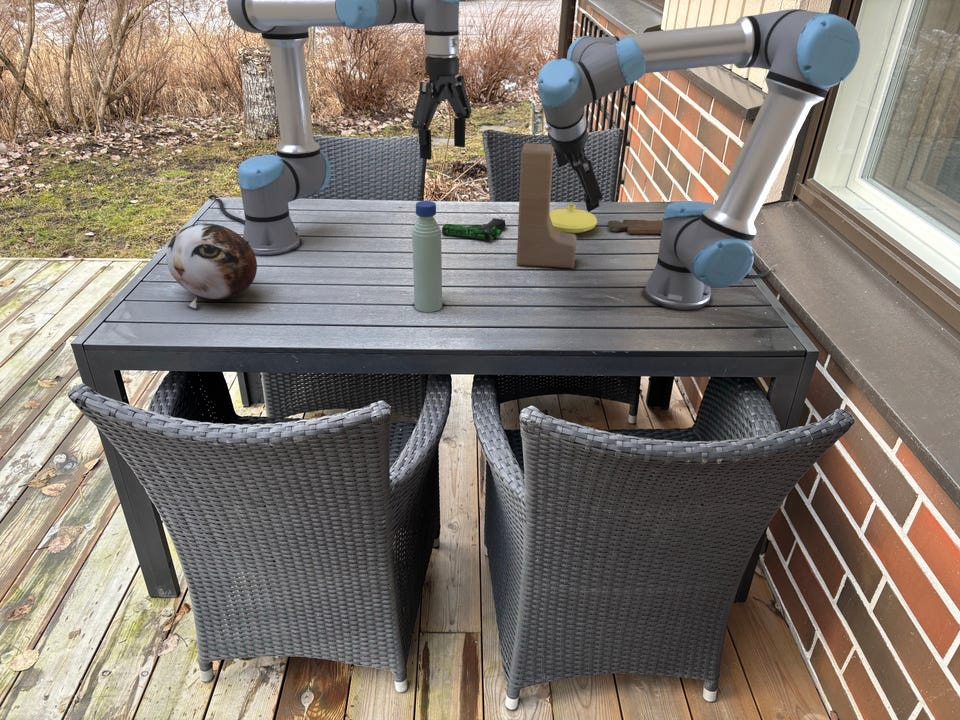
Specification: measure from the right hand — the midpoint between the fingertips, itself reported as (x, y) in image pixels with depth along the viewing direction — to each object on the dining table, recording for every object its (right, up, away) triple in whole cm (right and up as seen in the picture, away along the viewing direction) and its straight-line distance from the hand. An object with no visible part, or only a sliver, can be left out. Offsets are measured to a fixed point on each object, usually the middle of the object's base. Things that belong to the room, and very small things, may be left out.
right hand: (578, 185), depth 159 cm
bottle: (-34, -26, +7) cm, 43 cm away
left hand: (-31, +10, +9) cm, 34 cm away
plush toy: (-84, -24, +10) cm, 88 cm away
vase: (+5, 0, +52) cm, 52 cm away
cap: (-34, -5, -5) cm, 34 cm away
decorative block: (-5, -13, +30) cm, 33 cm away
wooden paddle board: (+29, 0, +52) cm, 60 cm away
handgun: (-23, -2, +49) cm, 54 cm away
